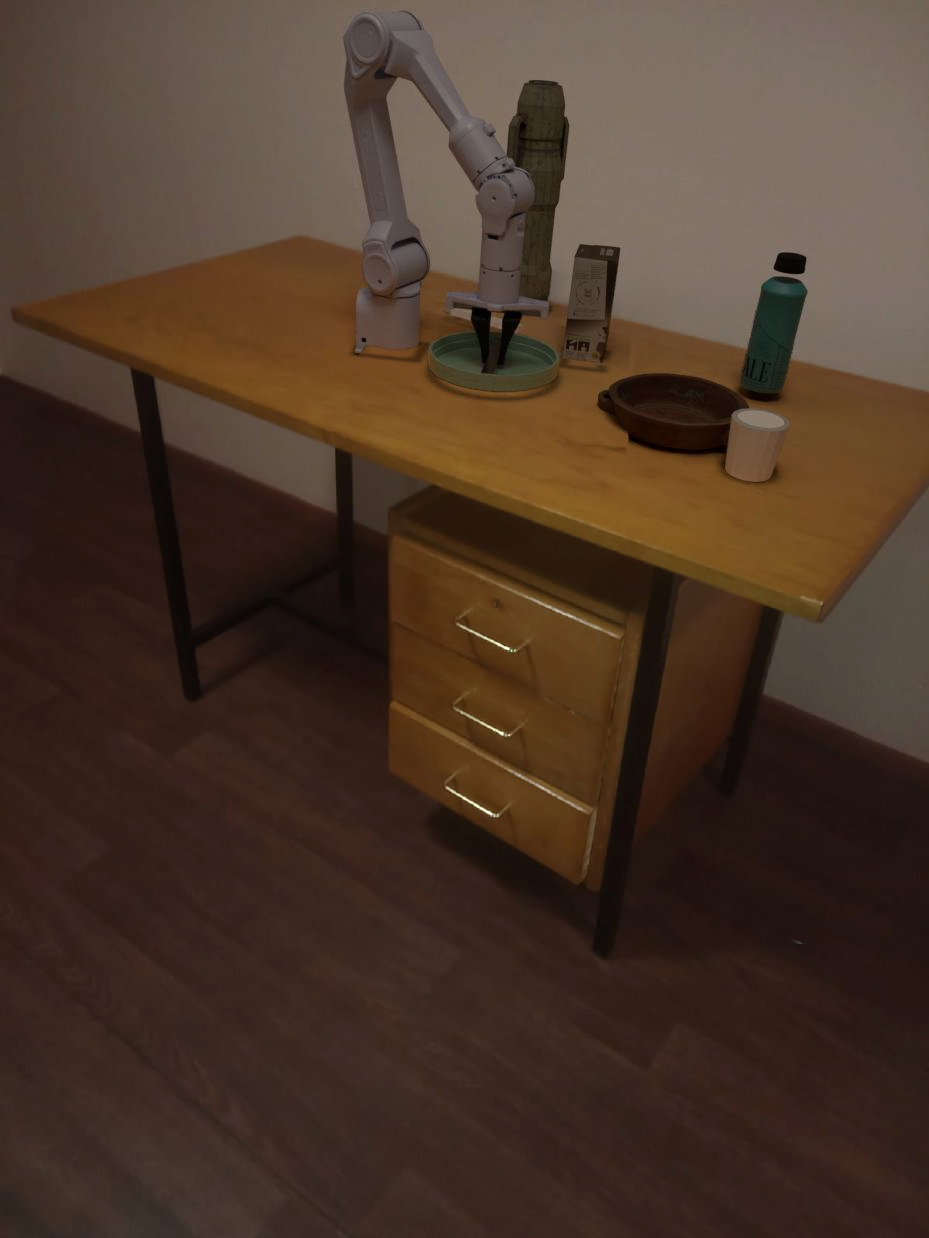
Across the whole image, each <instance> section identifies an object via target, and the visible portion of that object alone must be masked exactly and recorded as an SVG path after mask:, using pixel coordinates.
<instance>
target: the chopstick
mask: <svg viewBox="0 0 929 1238" xmlns="http://www.w3.org/2000/svg"><path fill="white" fill-rule="evenodd" d="M500 347H501V338H494V341H493V343H492V346H491V348H490V351H489V354H488V356H487V358H486V361H485V363H484V366H483V369H482V371H481V373H485V374H494V375H497V372H498V369H499V366H500V365H499V354H500Z"/></svg>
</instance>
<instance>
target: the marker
mask: <svg viewBox="0 0 929 1238" xmlns="http://www.w3.org/2000/svg"><path fill="white" fill-rule="evenodd" d="M442 313H444V314H445V315H450V316H454V317H457V318H461V319H464V320H467V321H471V314H472V310H468V309H458V308H454V309H444V310H442ZM502 319H503V318H499V317H496V316H492V315H491V323H490V327H492V328H495V329H499V330H502ZM522 331H524V325H523V324H521V323H519V325H518V327H517V329H516V331H515V333H514V334H517V333H520V332H522Z"/></svg>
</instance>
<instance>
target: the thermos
mask: <svg viewBox="0 0 929 1238" xmlns="http://www.w3.org/2000/svg"><path fill="white" fill-rule="evenodd" d="M518 96H519V97H518V99H517V106H516V113H515V115H513V116H512V118H511V120H510V122H509V124H508V130H507V144H506V155H507V156H508V158H509V159H510V158H512V160H513V161H514V163H515V167H518V168H521V169H524V170H525V171H527V172H528V173H529V174H530V177H531V180H532V182H533V184H534V188H535V197H534V201H533V204H532V206H531V207H530V208H529V209H528V210H527V211H526V212H524V213H525V214H526V216H525V228H524V240H523V252H522V263H521V274H520V286H519V296H522V297H526V298H531V299H536V300H541V301H549V296H550V294H551V287H552V286H551V285H552V277H553V267H552V264H551V256H552V255H551V254H552V247H553V245H552V244H553V238H554V237H553V235H554V228H555V217H556V216H555V215H556V209H557V207H558V204H559V202H560V197H561V196H560V195H561V186H562V182H563V180H564V179H565V173H566V164H567V163H566V162H567V152H568V146H569V145H568V143H569V133H570V122H569V118H568V117H567V116H566V115H565V112H566V101H565V95H564V89H563V85H561V84H559V82H557V81H554V80H545V79H530V80H528V82H524V83H523V85H522V88H521V91H520V93H519V95H518ZM524 213H523V214H524Z"/></svg>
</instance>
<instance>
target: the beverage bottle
mask: <svg viewBox="0 0 929 1238" xmlns="http://www.w3.org/2000/svg"><path fill="white" fill-rule="evenodd" d="M807 258H808V257H807V256H805V255H803V254H801V253H798V252H790V251H783V252H782V251H781V252H779V253H777V255H776V258H775V262H774V264H773V268H772V269H773V270H774V271H776V272H778V273H782V274H786V275H803V274H805V272H806V266H807ZM808 293H809V292H808V289H807V287H806V285H805V284H804V282H803V281H801V280H800V279H798V278H795V277H791V276H785V275H784V276H782V275H779V276H778V275H775V276H772V277H769V279H767V280H766V281H764V282H763V283H762V284H761V286H760V293H759V298H758V301H757V303H756V305H757V306H756V305H755V306H756V308H755V311H754V314H753V320H752V322H751V327H752V328H751V330H750V332H749V333H750V336H749V338H748V343H747V344H746V345H747V350H746V352H745V354H744V358H743V359H744V360H742V361H743V362H742V366H741V372H740V385H741V386H742V387H743V388H744V389H746V390H749V391H752V392H755V393H759V394H760V393H761V394H777V393H780V392H782V390H783V388H784V386H785V384H786V381H787V378H788V374H789V369H790V364H791V359H792V355H793V354H794V352H793V350H794V347H795V340H796V337H797V333H798V329H799V325H800V322H801V317H802V315H803V314H802V313H803V309H804V305H805V302H806V298H807V295H808Z"/></svg>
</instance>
